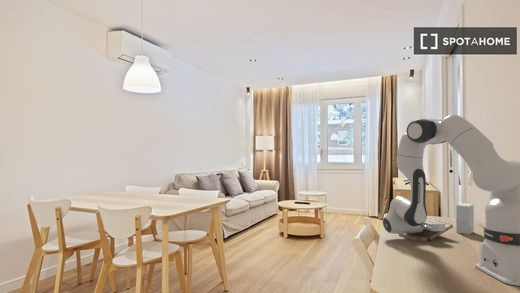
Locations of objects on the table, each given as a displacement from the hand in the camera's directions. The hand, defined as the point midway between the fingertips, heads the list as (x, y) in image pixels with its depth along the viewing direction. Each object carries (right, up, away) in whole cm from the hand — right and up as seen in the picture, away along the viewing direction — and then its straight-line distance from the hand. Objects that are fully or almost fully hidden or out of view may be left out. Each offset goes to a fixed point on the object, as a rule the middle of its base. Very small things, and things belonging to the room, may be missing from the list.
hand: (438, 222), depth 155 cm
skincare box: (+18, -7, +7) cm, 21 cm away
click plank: (-10, -7, -2) cm, 12 cm away
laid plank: (-15, -7, -3) cm, 17 cm away
